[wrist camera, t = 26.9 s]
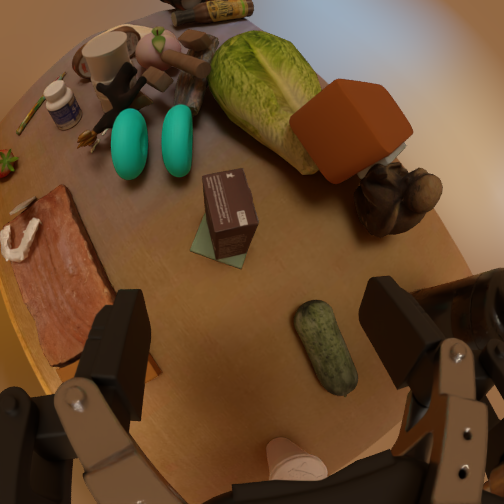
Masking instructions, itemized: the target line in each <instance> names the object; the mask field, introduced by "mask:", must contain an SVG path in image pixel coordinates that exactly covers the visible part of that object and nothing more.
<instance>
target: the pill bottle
mask: <svg viewBox="0 0 504 504" xmlns="http://www.w3.org/2000/svg"><path fill="white" fill-rule="evenodd" d="M44 96H45V98H46V100H47V102H46V107H47V110H48V111H49V113H50V115H51V116H52V118H53V120H54V121H55V123H56V125H57V126H58V128H59V129H61V130H66V129H69V128H71V127H73V126H74V125H76V124H77V123H78V121H79V120H80V118H81V115H82V112H81V110H80V107H79V105H78V103H77V101H76V99H75V96H74V94H73V92H72V90H71V89H70V88H67V87H66V85H65V83H64V81H62V80H57V81H55V82H53V83H51V84H50V85H49V86H48V87H47V88H46V89H45V91H44Z"/></svg>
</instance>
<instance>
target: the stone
mask: <svg viewBox="0 0 504 504" xmlns="http://www.w3.org/2000/svg"><path fill="white" fill-rule="evenodd" d="M207 35H208V37H209V38H210V39H211V40H212V42H213V44H211V45H210V46H209V47H208V48H206V49H203V50H200V51H194V50H191V49H189V50H188V52H187V54H186V55H189V56H192V57H195V58H198V59H200V60H203V61H206V62H208V63H209V64H210V63H211V60H212V58H213V56H214V53H215V51H216V49H217V47H218V45H219V41H218V38H217V37H215V36H212V35H209V34H207ZM207 86H208V81H207V77H205V78H198V77H196V76H194V75H192V74H189V73H187V72H185V71H183V70H181V72H180V74H179V77H178V81H177V84H176V89H175V98H174V106H176V105H180V104H182V105H186V106H187V107H189V108H190V110H191V113H192V116H196V115H197V113H198V112H199V110H200V107H201V104H202V102H203V98H204V94H205V91H206V88H207Z"/></svg>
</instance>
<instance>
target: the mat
mask: <svg viewBox="0 0 504 504" xmlns="http://www.w3.org/2000/svg"><path fill="white" fill-rule="evenodd" d="M190 251H191V252H194V253H197V254H199V255H202V256H205V257H208V258H211V259H213V260H216V259H215V254H214V250H213V245H212V241H211V237H210V233H209V229H208V226H207V222H206V215H205V214H204V216H203V219H202V221H201V224H200V226H199V229H198V231H197V234H196V236H195V239H194V241H193V244H192V246H191V249H190ZM247 251H248V250H247ZM246 254H247V253H245V254H241V255H236V256H232V257H228V258H223V259H219V260H216V261H219V262H222V263H225V264H228V265H231V266H233V267H236V268H239V269H241V268H242V265H243V262H244V259H245V257H246Z"/></svg>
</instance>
